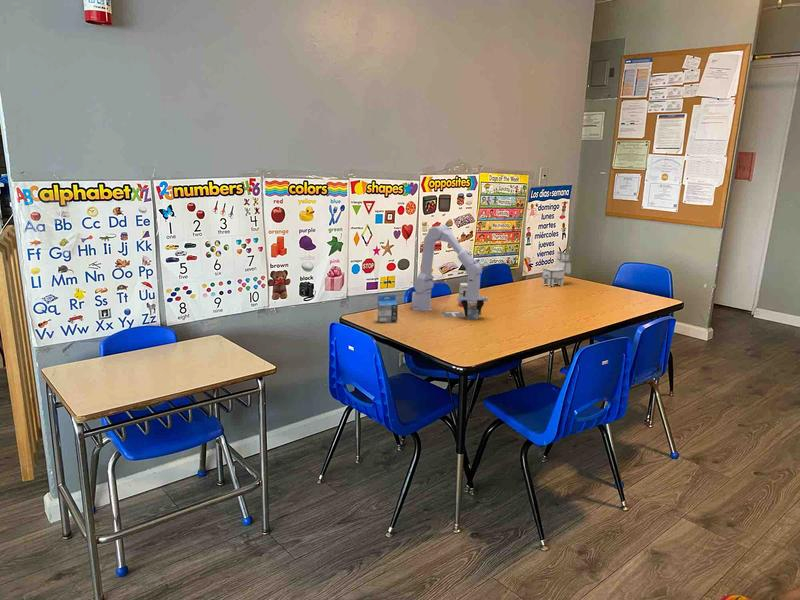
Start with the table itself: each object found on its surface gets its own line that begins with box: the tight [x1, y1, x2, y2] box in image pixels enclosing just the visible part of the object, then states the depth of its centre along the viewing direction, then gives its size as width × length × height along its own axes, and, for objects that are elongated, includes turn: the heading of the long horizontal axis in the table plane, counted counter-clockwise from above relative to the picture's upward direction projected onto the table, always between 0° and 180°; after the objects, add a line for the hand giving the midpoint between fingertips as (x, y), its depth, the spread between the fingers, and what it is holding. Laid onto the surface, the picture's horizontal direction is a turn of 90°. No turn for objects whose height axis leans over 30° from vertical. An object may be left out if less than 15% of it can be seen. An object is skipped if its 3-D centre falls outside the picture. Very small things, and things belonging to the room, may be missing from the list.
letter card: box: [441, 311, 466, 318], centre depth 293 cm, size 10×10×1 cm
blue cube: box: [464, 307, 479, 321], centre depth 286 cm, size 5×5×5 cm
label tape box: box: [377, 294, 399, 323], centre depth 277 cm, size 9×4×12 cm, turn 105°
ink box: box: [457, 282, 477, 308], centre depth 308 cm, size 8×5×12 cm, turn 99°
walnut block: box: [469, 302, 482, 316], centre depth 295 cm, size 5×5×5 cm
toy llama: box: [541, 250, 573, 286], centre depth 361 cm, size 8×18×20 cm, turn 117°
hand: (471, 315), depth 286 cm, fingers closed on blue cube, 5 cm apart
